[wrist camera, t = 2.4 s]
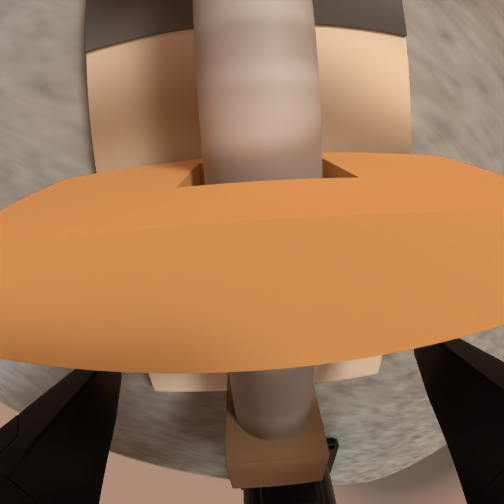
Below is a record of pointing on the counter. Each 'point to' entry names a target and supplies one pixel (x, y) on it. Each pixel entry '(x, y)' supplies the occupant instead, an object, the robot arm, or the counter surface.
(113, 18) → the rod board
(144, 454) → the counter surface
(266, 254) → the collar
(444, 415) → the robot arm
